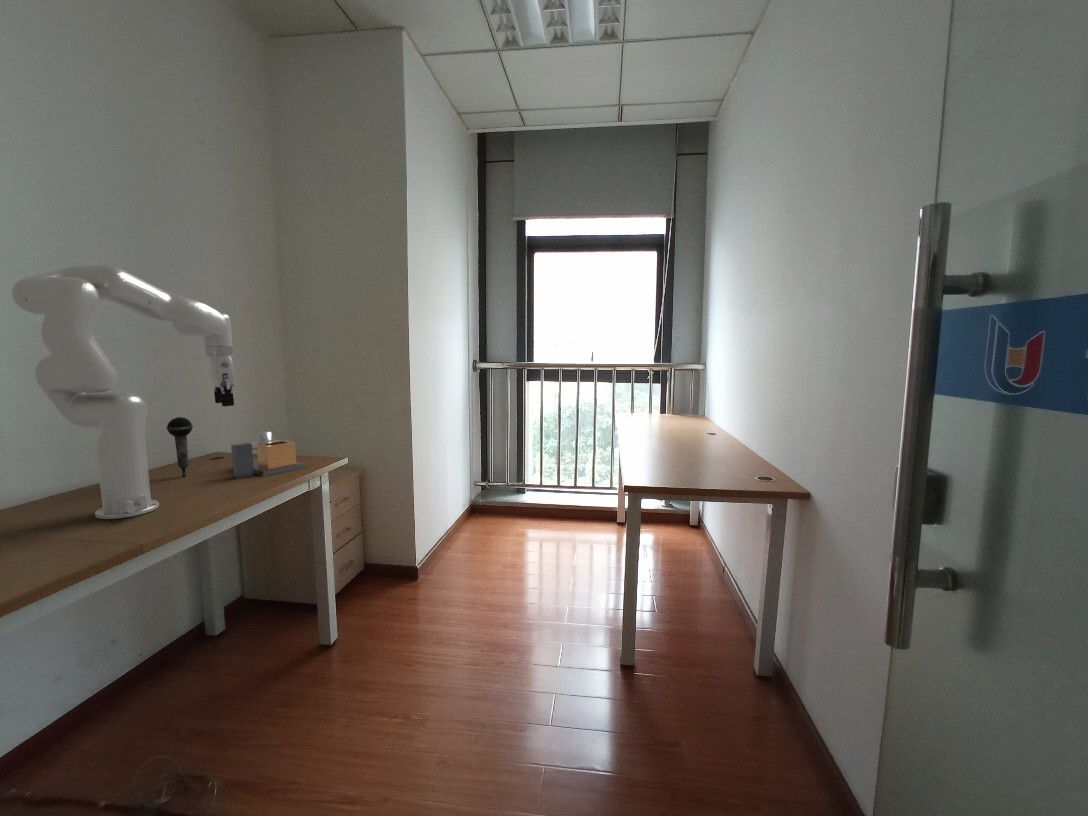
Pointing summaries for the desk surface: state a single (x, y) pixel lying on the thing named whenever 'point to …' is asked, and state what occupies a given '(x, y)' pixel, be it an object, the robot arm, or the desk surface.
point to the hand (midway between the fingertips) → (224, 404)
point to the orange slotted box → (274, 455)
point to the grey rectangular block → (242, 460)
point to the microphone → (180, 439)
